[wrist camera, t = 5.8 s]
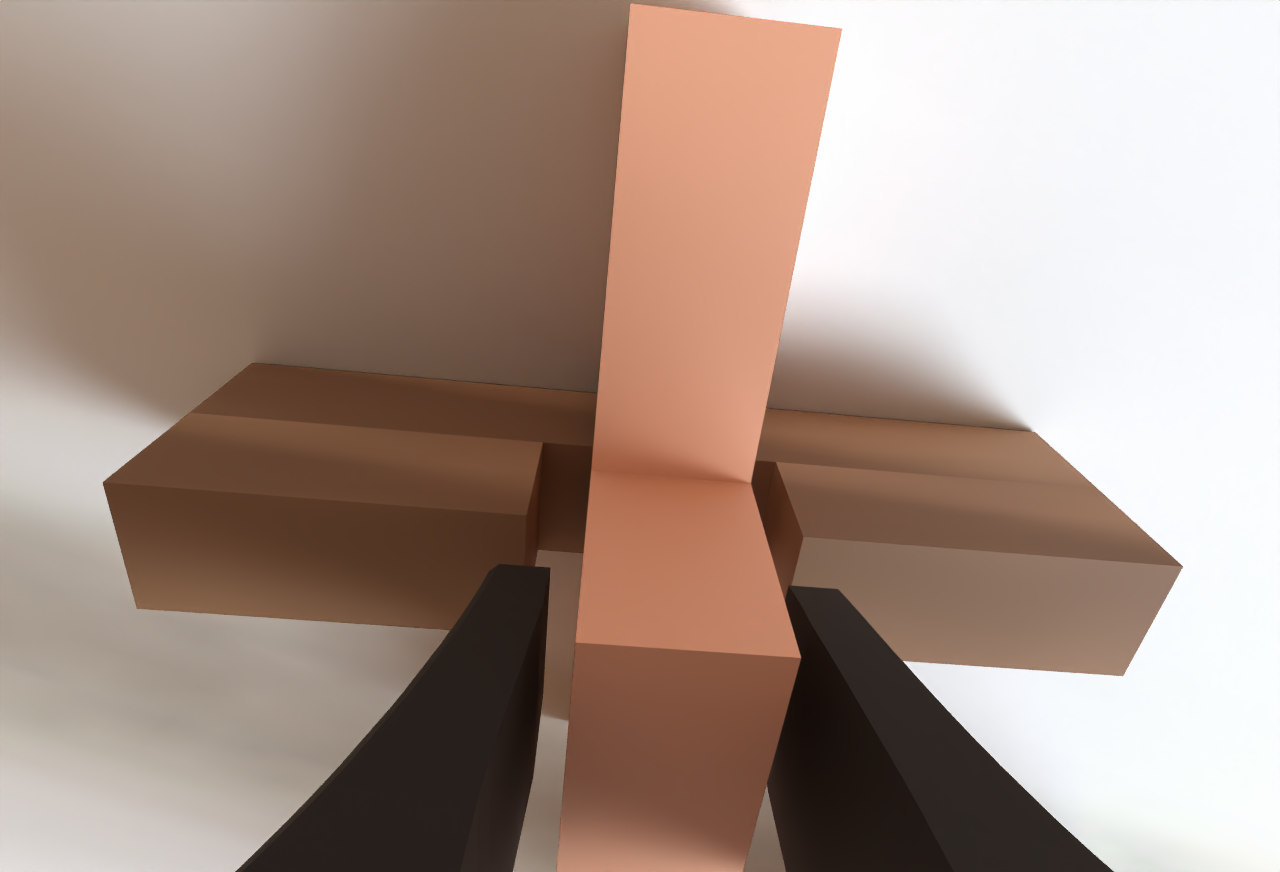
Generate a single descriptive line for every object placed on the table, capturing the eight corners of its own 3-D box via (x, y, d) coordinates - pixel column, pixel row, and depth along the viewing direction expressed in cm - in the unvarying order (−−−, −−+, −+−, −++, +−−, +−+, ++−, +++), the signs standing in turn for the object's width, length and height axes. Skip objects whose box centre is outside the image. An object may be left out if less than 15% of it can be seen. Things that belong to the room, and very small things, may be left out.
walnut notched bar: (999, 522, 14) (1123, 676, 11) (267, 463, 13) (136, 608, 10) (1034, 432, 13) (1183, 566, 10) (252, 362, 13) (102, 482, 9)
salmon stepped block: (657, 728, 17) (674, 1122, 11) (570, 722, 17) (535, 1117, 10) (768, 40, 10) (979, 7, 4) (630, 23, 10) (631, -36, 4)
